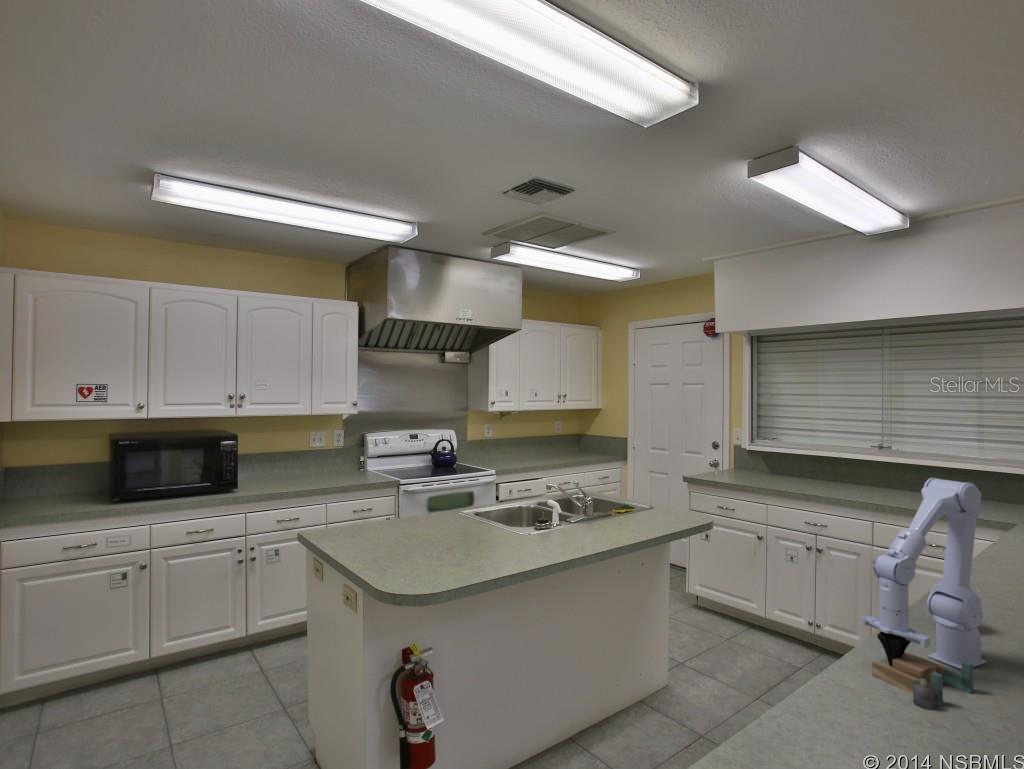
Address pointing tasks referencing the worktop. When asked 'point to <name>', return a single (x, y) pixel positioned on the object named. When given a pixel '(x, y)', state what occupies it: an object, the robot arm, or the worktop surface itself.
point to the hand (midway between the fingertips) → (894, 665)
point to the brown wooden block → (914, 667)
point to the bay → (921, 690)
